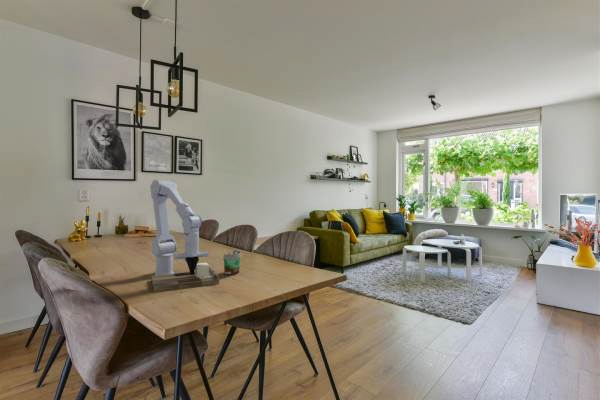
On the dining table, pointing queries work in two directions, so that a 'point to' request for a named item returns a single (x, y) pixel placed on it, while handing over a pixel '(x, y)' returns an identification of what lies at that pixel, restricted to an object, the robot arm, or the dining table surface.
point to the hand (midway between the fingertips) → (191, 274)
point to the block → (202, 270)
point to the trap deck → (182, 280)
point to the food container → (232, 263)
